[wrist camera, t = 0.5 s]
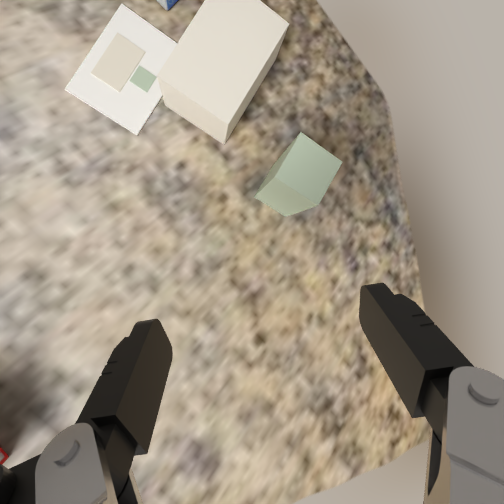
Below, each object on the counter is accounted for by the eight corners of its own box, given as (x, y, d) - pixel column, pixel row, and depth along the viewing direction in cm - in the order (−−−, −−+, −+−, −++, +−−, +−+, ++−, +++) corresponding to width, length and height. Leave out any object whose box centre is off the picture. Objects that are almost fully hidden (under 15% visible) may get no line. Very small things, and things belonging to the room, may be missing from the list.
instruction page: (65, 90, 26) (63, 88, 26) (122, 5, 27) (121, 2, 26) (137, 135, 27) (136, 134, 27) (189, 53, 28) (189, 51, 28)
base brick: (165, 105, 28) (156, 75, 23) (220, 18, 29) (223, -29, 24) (224, 144, 29) (228, 124, 24) (275, 60, 30) (289, 23, 25)
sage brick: (254, 196, 30) (274, 177, 21) (272, 164, 30) (300, 132, 21) (285, 216, 31) (317, 205, 22) (303, 185, 31) (342, 162, 22)
